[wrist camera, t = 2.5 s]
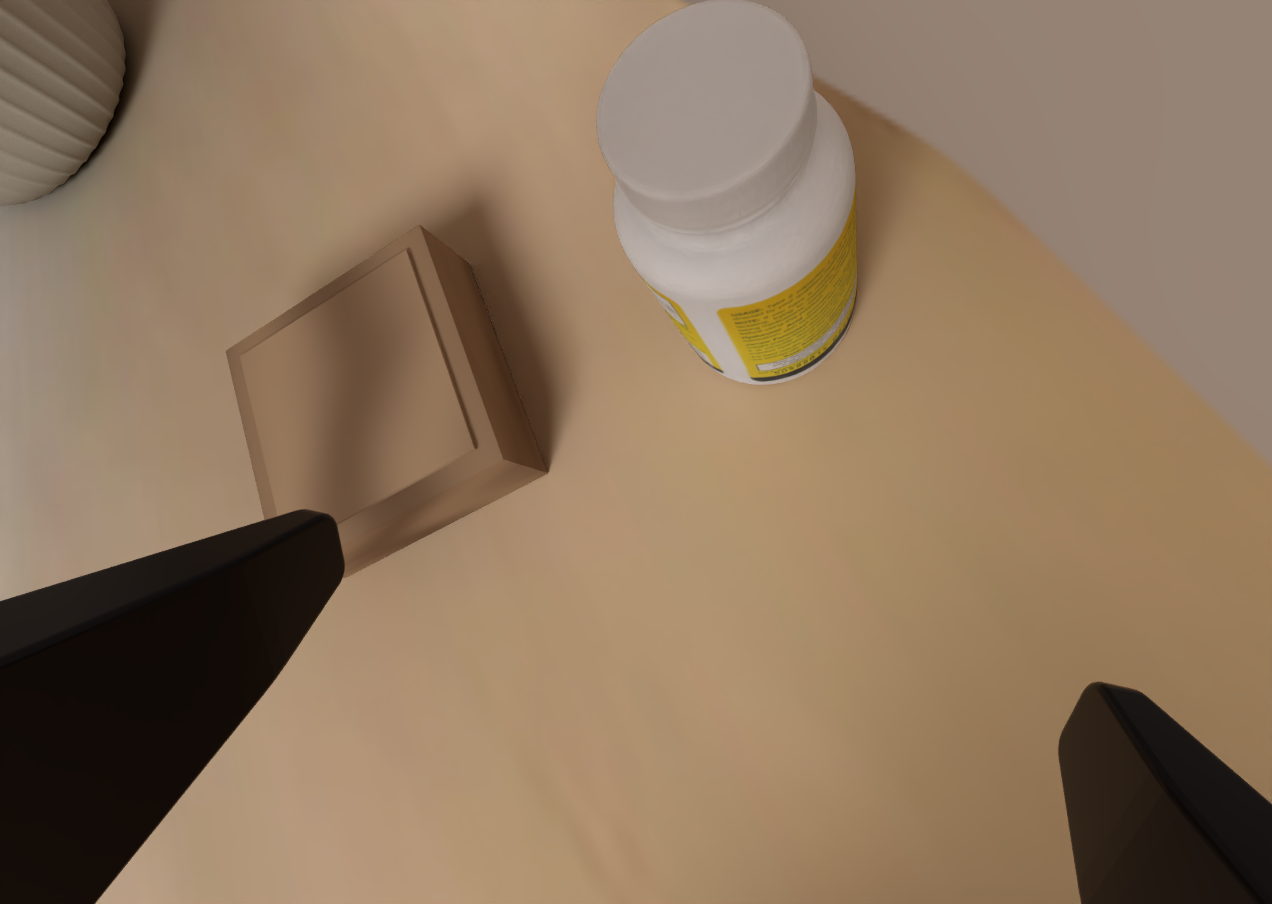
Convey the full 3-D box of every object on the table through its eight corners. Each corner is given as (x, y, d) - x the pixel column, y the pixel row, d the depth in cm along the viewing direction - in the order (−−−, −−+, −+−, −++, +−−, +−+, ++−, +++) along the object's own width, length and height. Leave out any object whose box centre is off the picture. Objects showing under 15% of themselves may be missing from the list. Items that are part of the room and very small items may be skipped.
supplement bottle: (881, 245, 20) (903, -33, 11) (822, 409, 20) (793, 269, 10) (718, 213, 22) (619, -45, 13) (662, 362, 21) (518, 209, 12)
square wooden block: (345, 577, 24) (274, 579, 21) (292, 373, 27) (222, 349, 24) (547, 473, 22) (500, 458, 19) (469, 263, 25) (416, 222, 22)
